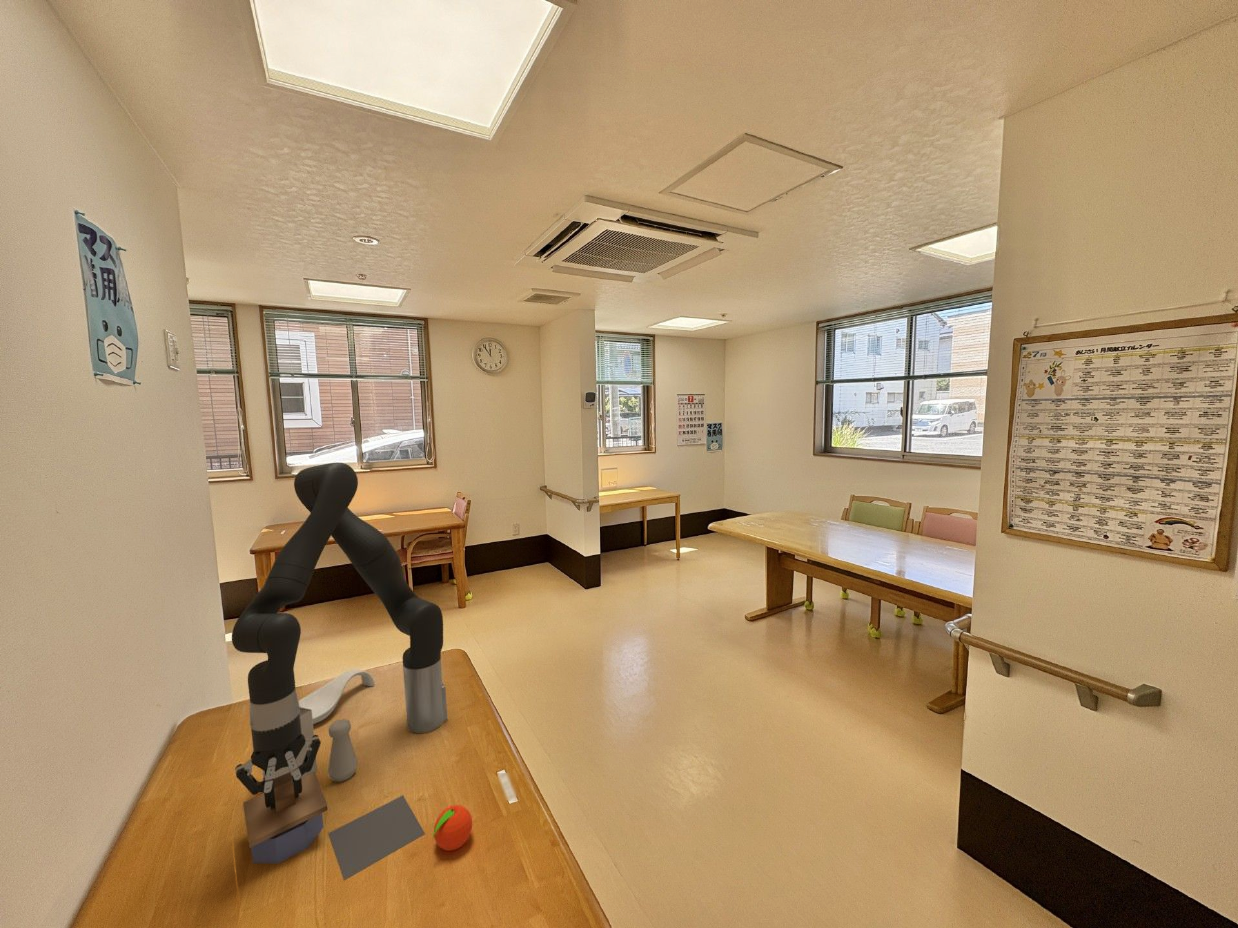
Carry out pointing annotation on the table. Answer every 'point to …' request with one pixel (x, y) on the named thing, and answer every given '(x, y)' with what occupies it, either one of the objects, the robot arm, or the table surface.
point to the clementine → (452, 827)
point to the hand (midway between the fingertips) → (284, 800)
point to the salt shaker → (341, 752)
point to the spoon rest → (331, 694)
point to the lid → (283, 808)
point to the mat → (374, 836)
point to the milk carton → (308, 733)
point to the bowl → (287, 842)
